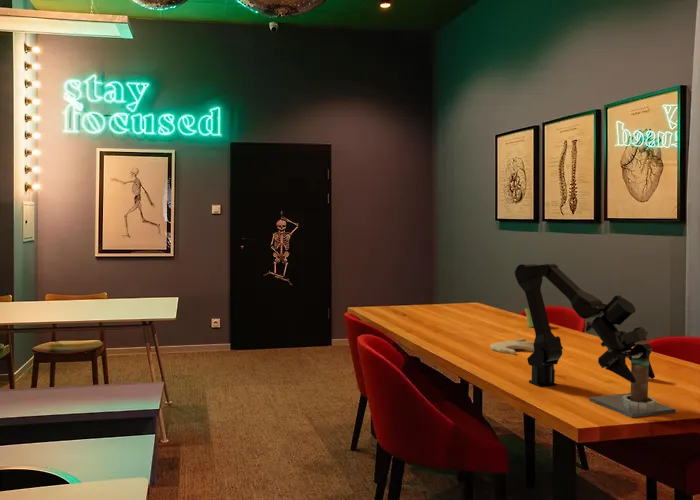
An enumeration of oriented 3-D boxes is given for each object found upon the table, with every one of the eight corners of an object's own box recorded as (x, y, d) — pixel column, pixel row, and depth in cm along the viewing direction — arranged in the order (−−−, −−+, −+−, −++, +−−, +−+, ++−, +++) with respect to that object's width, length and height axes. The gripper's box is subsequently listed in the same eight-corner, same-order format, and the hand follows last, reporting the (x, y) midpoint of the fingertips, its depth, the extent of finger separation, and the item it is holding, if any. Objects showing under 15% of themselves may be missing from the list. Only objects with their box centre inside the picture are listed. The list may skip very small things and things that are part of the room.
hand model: (488, 339, 271) (537, 334, 268) (489, 350, 271) (538, 345, 268) (492, 350, 252) (544, 345, 249) (493, 362, 253) (545, 357, 250)
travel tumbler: (632, 407, 178) (634, 361, 177) (627, 403, 182) (628, 357, 182) (650, 408, 177) (651, 361, 177) (644, 403, 182) (645, 358, 181)
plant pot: (520, 325, 320) (520, 308, 320) (534, 324, 324) (535, 307, 324) (532, 328, 312) (533, 311, 311) (547, 327, 316) (548, 310, 315)
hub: (631, 417, 172) (631, 406, 172) (589, 400, 188) (589, 390, 188) (675, 412, 177) (675, 401, 177) (630, 396, 193) (630, 386, 193)
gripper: (608, 320, 176) (645, 368, 168) (646, 315, 187) (683, 359, 178) (583, 344, 183) (617, 391, 175) (621, 337, 194) (655, 381, 185)
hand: (644, 380), depth 178 cm, fingers open, 9 cm apart
